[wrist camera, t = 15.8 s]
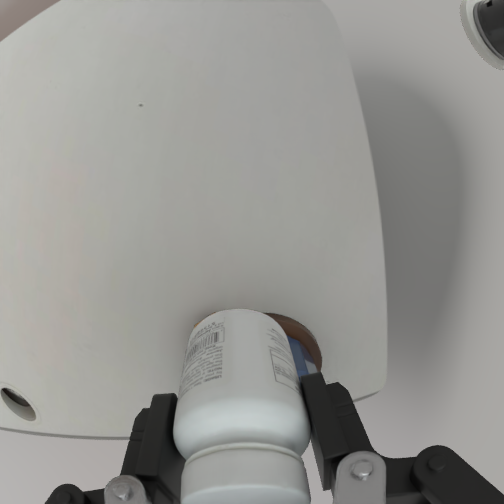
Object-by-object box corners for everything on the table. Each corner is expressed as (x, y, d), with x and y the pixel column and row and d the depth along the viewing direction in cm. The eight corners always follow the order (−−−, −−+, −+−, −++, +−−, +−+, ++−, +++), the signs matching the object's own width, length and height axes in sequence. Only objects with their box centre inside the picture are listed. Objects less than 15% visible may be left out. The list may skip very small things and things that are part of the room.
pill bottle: (187, 379, 14) (168, 527, 6) (189, 299, 12) (153, 469, 5) (278, 385, 14) (306, 529, 7) (296, 309, 13) (354, 470, 5)
